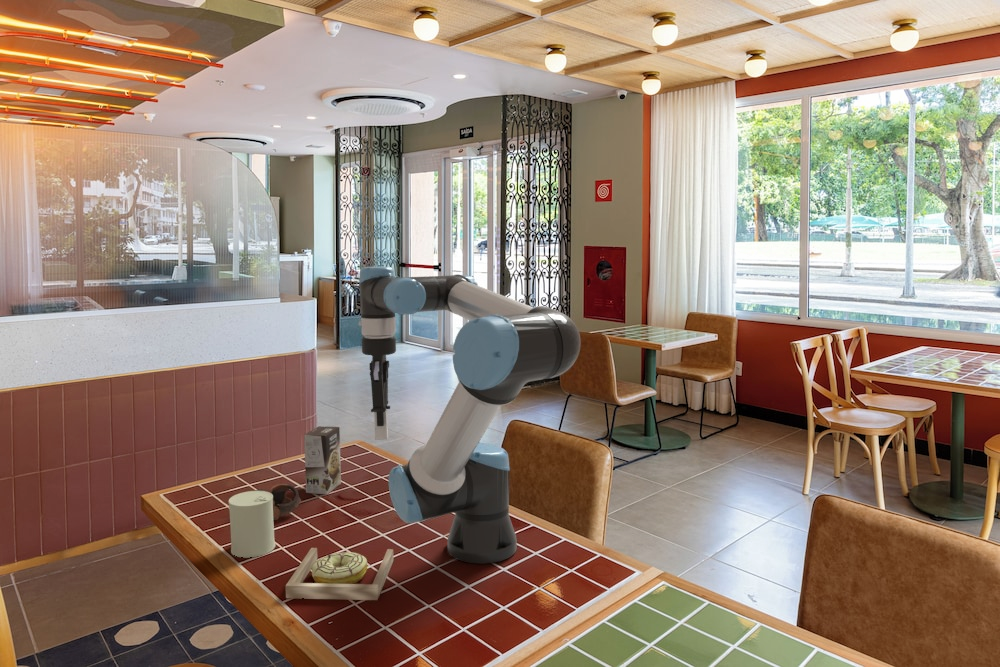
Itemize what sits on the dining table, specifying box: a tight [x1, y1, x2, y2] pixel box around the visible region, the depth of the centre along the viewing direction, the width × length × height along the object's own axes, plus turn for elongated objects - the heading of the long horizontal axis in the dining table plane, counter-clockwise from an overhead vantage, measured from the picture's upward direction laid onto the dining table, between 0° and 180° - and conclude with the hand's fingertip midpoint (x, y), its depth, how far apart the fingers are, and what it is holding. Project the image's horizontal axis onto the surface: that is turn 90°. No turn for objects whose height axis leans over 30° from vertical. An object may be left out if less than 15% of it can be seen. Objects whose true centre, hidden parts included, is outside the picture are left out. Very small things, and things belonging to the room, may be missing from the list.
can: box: [228, 490, 276, 559], centre depth 153 cm, size 9×9×12 cm
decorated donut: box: [311, 551, 368, 584], centre depth 141 cm, size 10×11×4 cm
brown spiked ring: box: [254, 483, 302, 521], centre depth 173 cm, size 12×10×8 cm
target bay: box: [284, 547, 395, 601], centre depth 140 cm, size 17×16×2 cm
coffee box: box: [303, 425, 342, 495], centre depth 189 cm, size 9×6×16 cm
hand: (381, 438), depth 160 cm, fingers closed
